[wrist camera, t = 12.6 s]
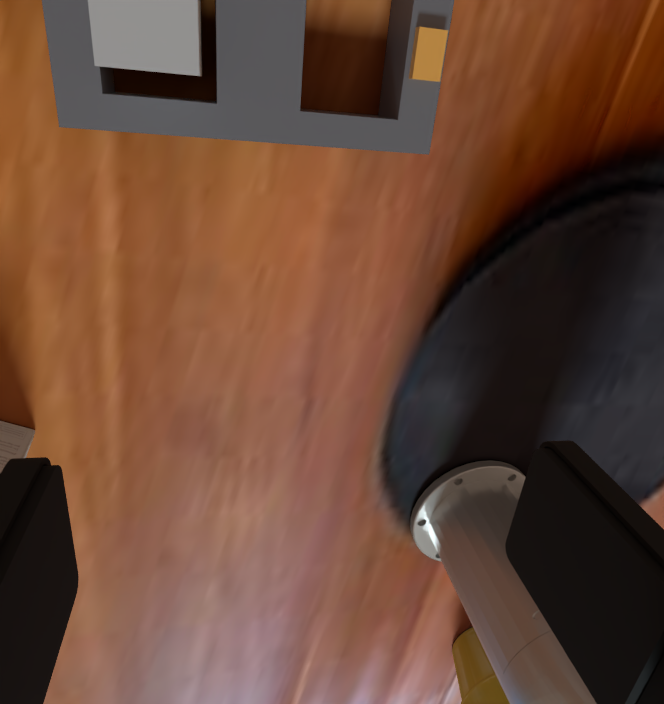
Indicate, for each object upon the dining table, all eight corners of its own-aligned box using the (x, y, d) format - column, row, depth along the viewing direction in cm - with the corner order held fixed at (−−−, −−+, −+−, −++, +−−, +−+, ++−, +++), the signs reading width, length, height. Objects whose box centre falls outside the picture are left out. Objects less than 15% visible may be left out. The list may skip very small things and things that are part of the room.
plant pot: (451, 613, 59) (492, 703, 51) (528, 610, 62) (579, 694, 54) (426, 670, 64) (459, 761, 55) (499, 664, 66) (541, 750, 58)
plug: (200, -30, 28) (195, -78, 19) (202, 76, 30) (199, 76, 21) (120, -41, 27) (77, -97, 18) (128, 69, 29) (94, 65, 20)
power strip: (433, -41, 30) (468, -59, 26) (406, 146, 34) (432, 155, 30) (49, -104, 25) (19, -138, 21) (76, 121, 30) (56, 128, 26)
